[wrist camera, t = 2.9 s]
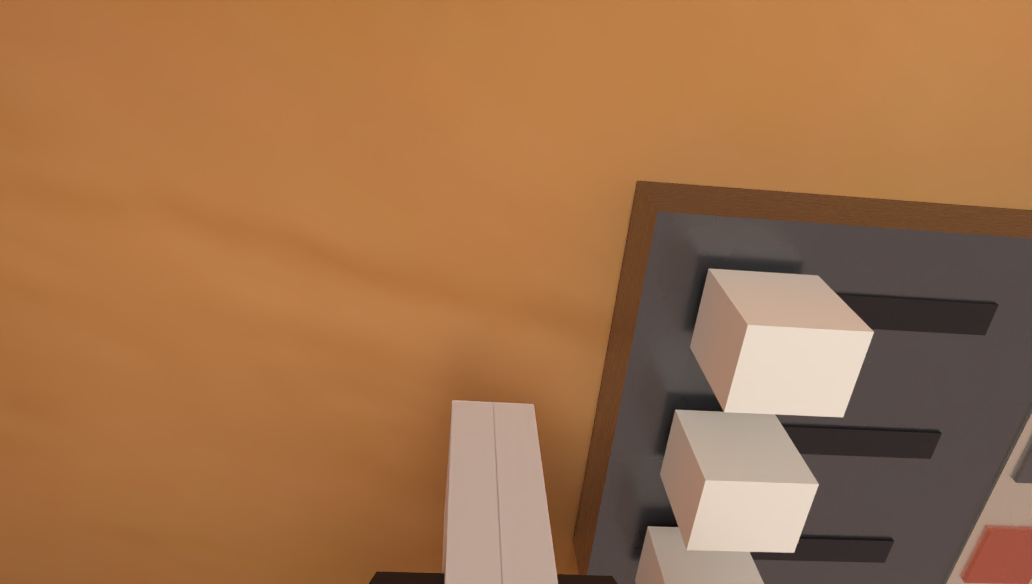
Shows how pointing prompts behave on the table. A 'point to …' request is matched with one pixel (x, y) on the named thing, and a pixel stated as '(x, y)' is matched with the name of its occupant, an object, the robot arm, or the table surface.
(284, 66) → the table surface
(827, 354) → the switch
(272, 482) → the table surface
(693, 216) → the switch panel
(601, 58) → the table surface
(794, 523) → the switch
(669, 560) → the switch
